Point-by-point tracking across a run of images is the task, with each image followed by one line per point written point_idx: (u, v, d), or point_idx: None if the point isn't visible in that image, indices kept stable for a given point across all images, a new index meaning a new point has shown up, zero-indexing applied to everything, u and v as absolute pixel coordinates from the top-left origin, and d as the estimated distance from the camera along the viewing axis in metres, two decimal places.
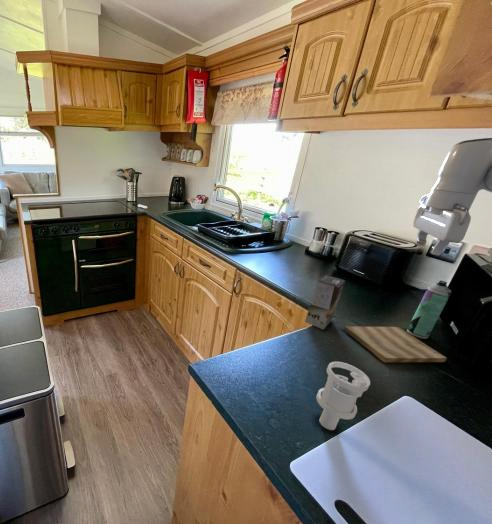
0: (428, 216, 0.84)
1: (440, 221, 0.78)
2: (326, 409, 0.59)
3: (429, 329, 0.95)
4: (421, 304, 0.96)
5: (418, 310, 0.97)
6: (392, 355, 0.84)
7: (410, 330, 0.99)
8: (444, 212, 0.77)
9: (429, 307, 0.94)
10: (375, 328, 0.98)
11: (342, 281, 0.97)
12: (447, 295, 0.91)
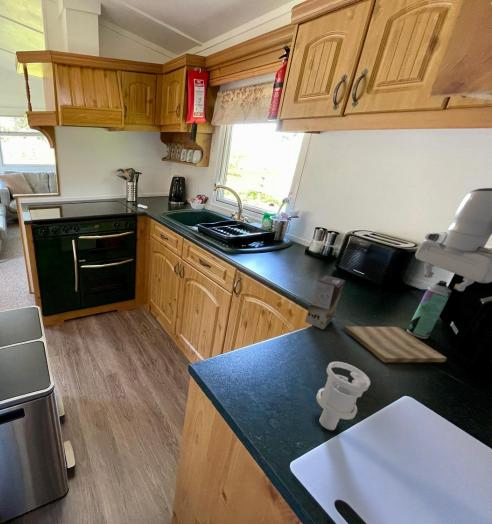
0: (439, 252, 0.92)
1: (465, 261, 0.85)
2: (326, 409, 0.59)
3: (429, 329, 0.95)
4: (421, 304, 0.96)
5: (418, 310, 0.97)
6: (392, 355, 0.84)
7: (410, 330, 0.99)
8: (471, 254, 0.84)
9: (429, 307, 0.94)
10: (375, 328, 0.98)
11: (342, 281, 0.97)
12: (447, 295, 0.91)
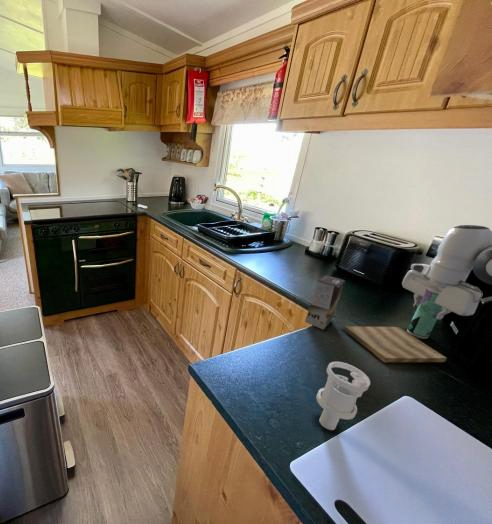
0: (424, 283, 0.96)
1: (447, 294, 0.89)
2: (326, 409, 0.59)
3: (429, 329, 0.95)
4: (421, 304, 0.96)
5: (418, 310, 0.97)
6: (392, 355, 0.84)
7: (410, 330, 0.99)
8: (452, 287, 0.88)
9: (429, 307, 0.94)
10: (375, 328, 0.98)
11: (342, 281, 0.97)
12: None
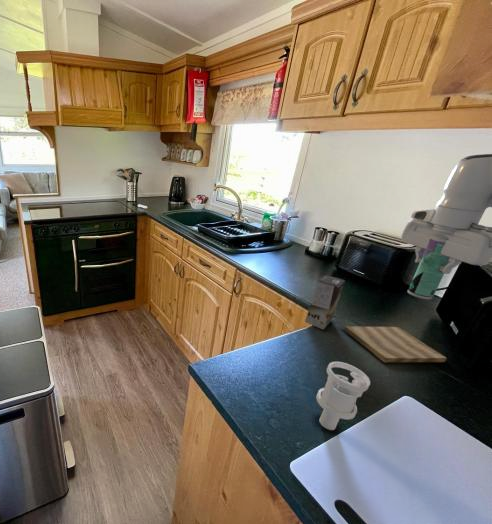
0: (427, 233, 0.80)
1: (456, 241, 0.73)
2: (326, 409, 0.59)
3: (434, 287, 0.80)
4: (424, 258, 0.80)
5: (420, 265, 0.81)
6: (392, 355, 0.84)
7: (411, 290, 0.83)
8: (462, 232, 0.72)
9: (433, 260, 0.78)
10: (375, 328, 0.98)
11: (342, 281, 0.97)
12: None
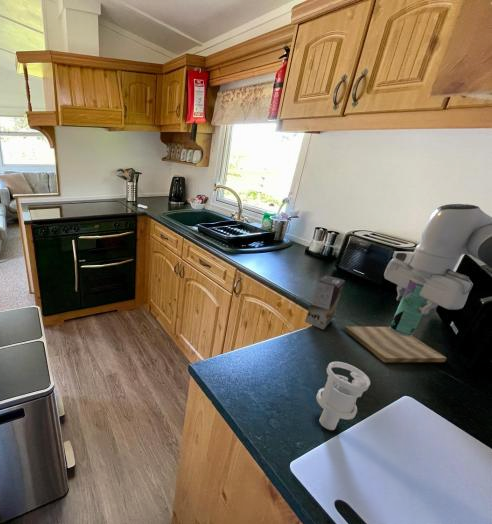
0: (407, 273, 0.84)
1: (433, 285, 0.77)
2: (326, 409, 0.59)
3: (413, 326, 0.83)
4: (404, 297, 0.84)
5: (401, 304, 0.85)
6: (392, 355, 0.84)
7: (392, 327, 0.87)
8: (438, 277, 0.76)
9: (412, 301, 0.82)
10: (375, 328, 0.98)
11: (342, 281, 0.97)
12: None
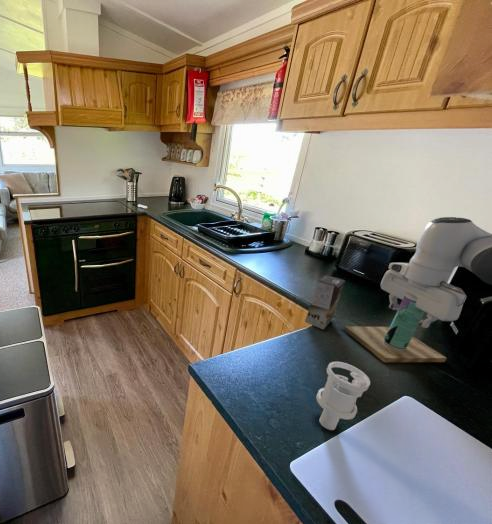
0: (403, 284, 0.85)
1: (428, 296, 0.78)
2: (326, 409, 0.59)
3: (407, 340, 0.85)
4: (398, 312, 0.86)
5: (395, 319, 0.87)
6: (392, 355, 0.84)
7: (386, 341, 0.89)
8: (433, 289, 0.77)
9: (406, 317, 0.84)
10: (375, 328, 0.98)
11: (342, 281, 0.97)
12: None
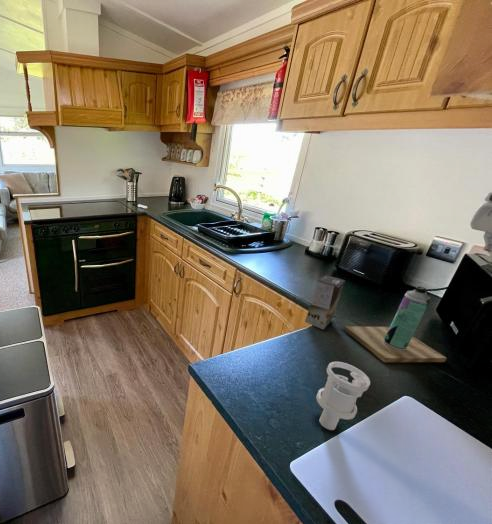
0: None
1: None
2: (326, 409, 0.59)
3: (407, 340, 0.85)
4: (398, 312, 0.86)
5: (395, 319, 0.87)
6: (392, 355, 0.84)
7: (386, 341, 0.89)
8: None
9: (406, 316, 0.84)
10: (375, 328, 0.98)
11: (342, 281, 0.97)
12: (426, 303, 0.81)
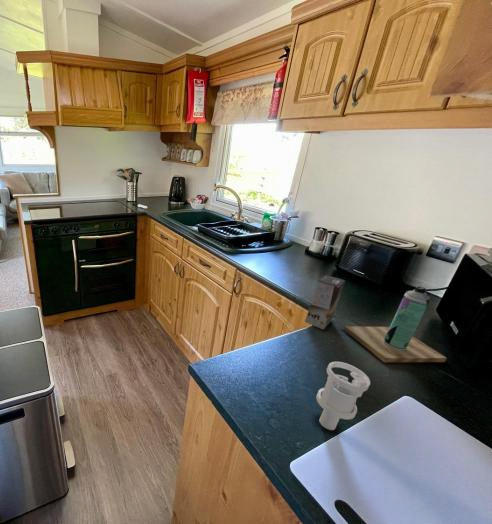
0: None
1: None
2: (326, 409, 0.59)
3: (407, 340, 0.85)
4: (398, 312, 0.86)
5: (395, 319, 0.87)
6: (392, 355, 0.84)
7: (386, 341, 0.89)
8: None
9: (406, 317, 0.84)
10: (375, 328, 0.98)
11: (342, 281, 0.97)
12: (425, 303, 0.81)
